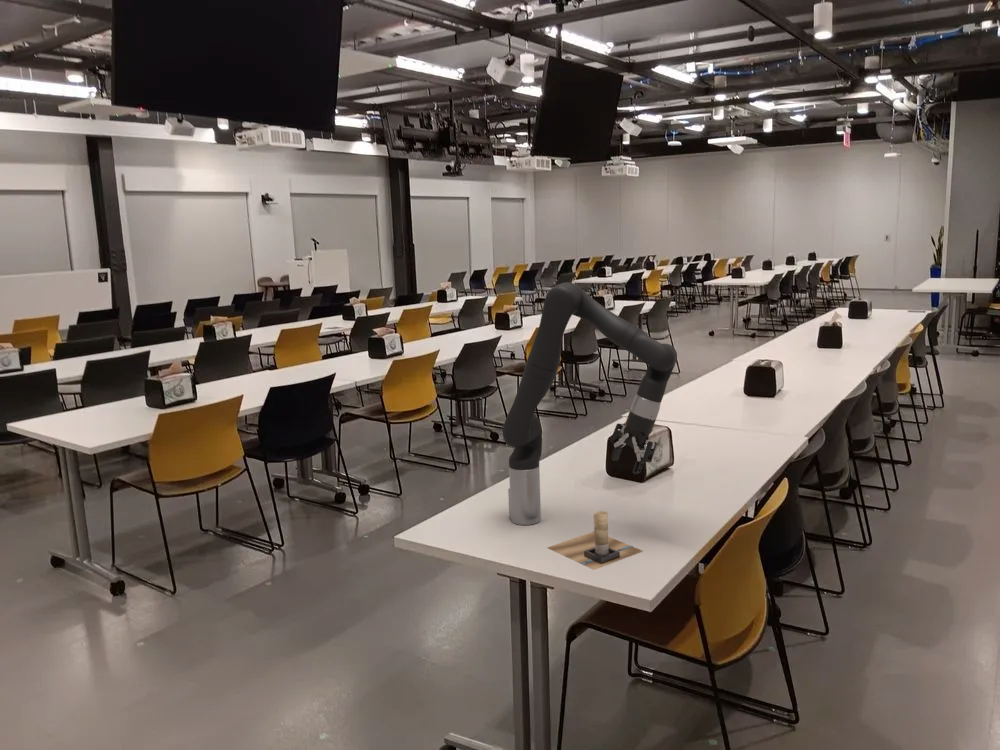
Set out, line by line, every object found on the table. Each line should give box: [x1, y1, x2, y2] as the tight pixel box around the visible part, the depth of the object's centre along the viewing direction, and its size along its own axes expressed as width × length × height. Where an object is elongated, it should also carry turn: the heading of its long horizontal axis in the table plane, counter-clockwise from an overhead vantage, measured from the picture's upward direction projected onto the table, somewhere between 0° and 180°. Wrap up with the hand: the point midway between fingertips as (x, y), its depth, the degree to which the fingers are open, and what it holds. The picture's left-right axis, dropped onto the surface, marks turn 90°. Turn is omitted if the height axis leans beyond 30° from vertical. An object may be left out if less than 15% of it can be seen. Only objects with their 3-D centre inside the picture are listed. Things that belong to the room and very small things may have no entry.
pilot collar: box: [584, 547, 620, 564], centre depth 208 cm, size 7×7×2 cm
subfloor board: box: [546, 531, 644, 571], centre depth 213 cm, size 19×18×2 cm
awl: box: [593, 510, 609, 557], centre depth 207 cm, size 4×4×12 cm
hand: (624, 466), depth 220 cm, fingers open, 8 cm apart
